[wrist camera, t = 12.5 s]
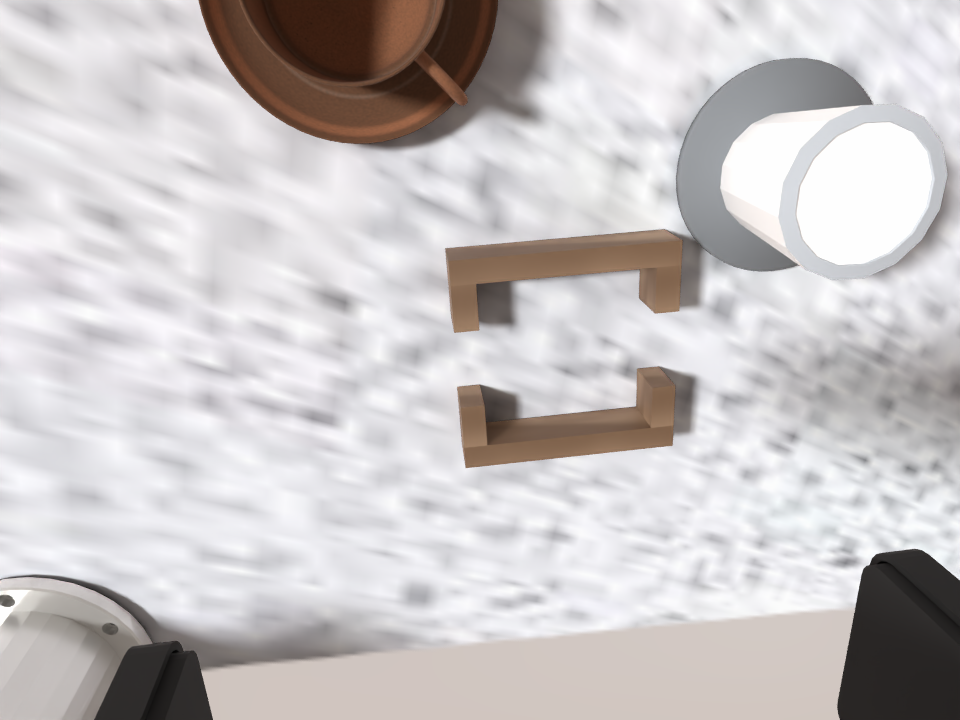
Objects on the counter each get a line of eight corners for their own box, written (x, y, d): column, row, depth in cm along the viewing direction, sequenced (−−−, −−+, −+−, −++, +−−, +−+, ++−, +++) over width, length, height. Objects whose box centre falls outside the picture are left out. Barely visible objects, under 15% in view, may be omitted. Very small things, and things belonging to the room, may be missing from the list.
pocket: (656, 423, 39) (672, 445, 36) (462, 444, 38) (465, 468, 36) (664, 229, 34) (682, 240, 32) (445, 248, 34) (448, 261, 31)
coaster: (857, 259, 36) (864, 262, 36) (671, 276, 35) (675, 279, 35) (888, 51, 32) (897, 50, 32) (681, 66, 32) (686, 66, 31)
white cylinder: (770, 67, 31) (863, 64, 25) (873, 149, 33) (985, 166, 27) (679, 198, 33) (744, 227, 27) (781, 268, 35) (866, 311, 29)
